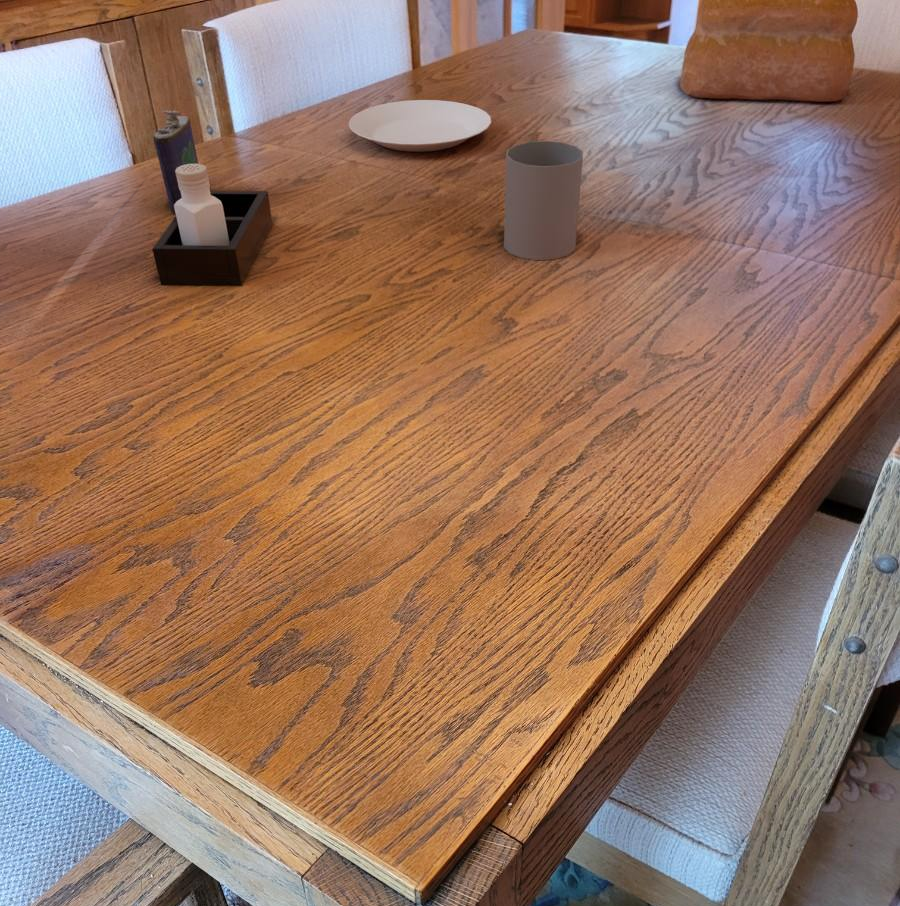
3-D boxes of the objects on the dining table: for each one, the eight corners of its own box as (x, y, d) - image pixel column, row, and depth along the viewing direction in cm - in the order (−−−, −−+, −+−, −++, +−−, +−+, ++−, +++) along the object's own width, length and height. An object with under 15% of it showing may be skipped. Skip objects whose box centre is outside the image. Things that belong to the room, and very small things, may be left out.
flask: (188, 188, 120) (170, 98, 112) (210, 188, 119) (193, 99, 112) (166, 214, 113) (146, 122, 105) (189, 215, 113) (170, 122, 105)
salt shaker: (205, 269, 98) (186, 178, 92) (183, 259, 100) (163, 169, 94) (234, 257, 100) (218, 167, 94) (212, 247, 102) (194, 159, 96)
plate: (519, 141, 131) (520, 124, 130) (397, 171, 123) (396, 154, 121) (440, 107, 144) (440, 92, 142) (324, 132, 136) (323, 116, 134)
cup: (494, 254, 103) (496, 161, 96) (515, 227, 108) (518, 138, 101) (566, 264, 101) (573, 170, 94) (583, 236, 106) (591, 145, 99)
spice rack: (160, 285, 98) (151, 248, 96) (200, 224, 111) (193, 190, 108) (241, 285, 98) (235, 249, 95) (272, 224, 110) (267, 190, 107)
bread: (678, 79, 154) (693, -28, 143) (837, 83, 150) (865, -26, 140) (679, 101, 144) (696, -12, 134) (849, 107, 141) (880, -9, 130)
